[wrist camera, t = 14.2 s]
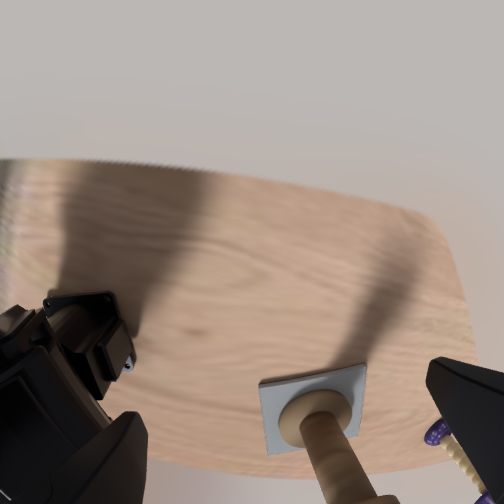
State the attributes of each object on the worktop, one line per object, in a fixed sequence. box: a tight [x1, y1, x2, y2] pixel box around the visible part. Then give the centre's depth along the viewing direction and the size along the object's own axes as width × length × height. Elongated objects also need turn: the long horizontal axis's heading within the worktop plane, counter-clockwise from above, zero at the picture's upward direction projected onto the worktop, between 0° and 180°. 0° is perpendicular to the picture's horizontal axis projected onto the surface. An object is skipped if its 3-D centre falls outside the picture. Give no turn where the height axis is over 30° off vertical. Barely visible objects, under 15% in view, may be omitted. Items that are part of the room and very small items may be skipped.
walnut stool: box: [278, 389, 400, 504], centre depth 17 cm, size 6×6×12 cm
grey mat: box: [259, 363, 367, 456], centre depth 23 cm, size 9×9×1 cm
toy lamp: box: [424, 419, 496, 504], centre depth 19 cm, size 5×5×17 cm
